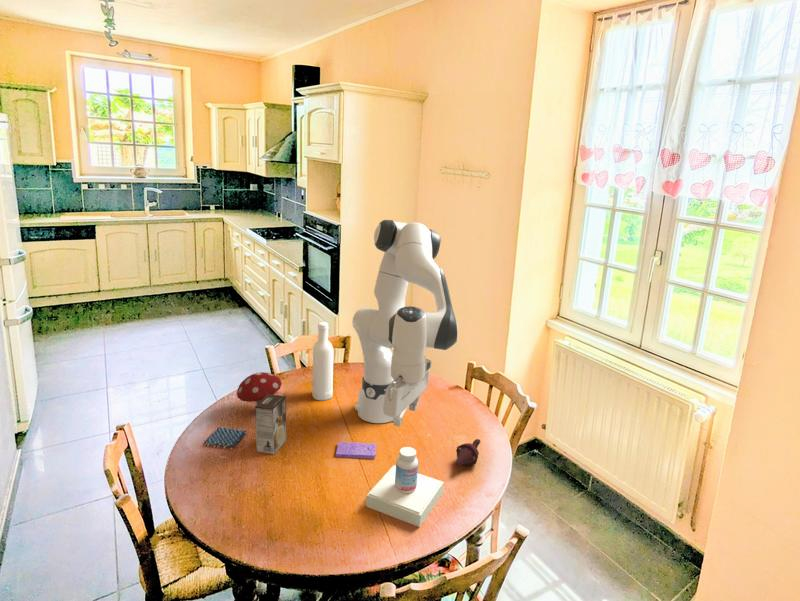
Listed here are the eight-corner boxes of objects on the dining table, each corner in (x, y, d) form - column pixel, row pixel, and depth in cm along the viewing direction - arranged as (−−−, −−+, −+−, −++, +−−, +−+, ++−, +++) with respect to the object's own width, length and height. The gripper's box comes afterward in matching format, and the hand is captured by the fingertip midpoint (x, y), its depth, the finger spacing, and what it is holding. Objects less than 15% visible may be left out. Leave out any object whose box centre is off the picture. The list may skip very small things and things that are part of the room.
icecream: (471, 461, 150) (490, 443, 163) (450, 447, 153) (471, 431, 166) (463, 480, 152) (482, 460, 165) (442, 465, 156) (463, 448, 168)
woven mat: (217, 430, 172) (217, 425, 171) (247, 434, 170) (247, 429, 170) (201, 447, 162) (201, 442, 161) (233, 452, 161) (233, 446, 160)
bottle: (307, 396, 198) (308, 323, 189) (322, 389, 204) (322, 318, 196) (323, 402, 193) (323, 328, 185) (337, 395, 200) (338, 323, 191)
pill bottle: (403, 496, 137) (405, 460, 134) (390, 484, 142) (392, 449, 138) (421, 489, 140) (423, 453, 137) (407, 477, 145) (410, 443, 142)
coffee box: (268, 436, 169) (267, 392, 164) (286, 439, 168) (286, 395, 163) (255, 451, 160) (254, 405, 156) (274, 455, 159) (273, 409, 155)
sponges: (374, 460, 160) (375, 455, 160) (334, 458, 160) (335, 453, 160) (376, 448, 167) (376, 443, 166) (337, 446, 167) (338, 441, 166)
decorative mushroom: (271, 425, 176) (270, 386, 172) (228, 419, 178) (226, 380, 174) (289, 404, 191) (288, 367, 187) (249, 398, 193) (248, 362, 189)
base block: (393, 475, 152) (393, 463, 151) (442, 492, 146) (443, 480, 144) (366, 506, 138) (366, 493, 137) (419, 527, 132) (420, 514, 131)
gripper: (401, 388, 122) (398, 438, 126) (434, 359, 139) (431, 404, 143) (378, 381, 124) (376, 431, 128) (413, 354, 142) (410, 398, 146)
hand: (405, 417), depth 136 cm, fingers open, 8 cm apart
